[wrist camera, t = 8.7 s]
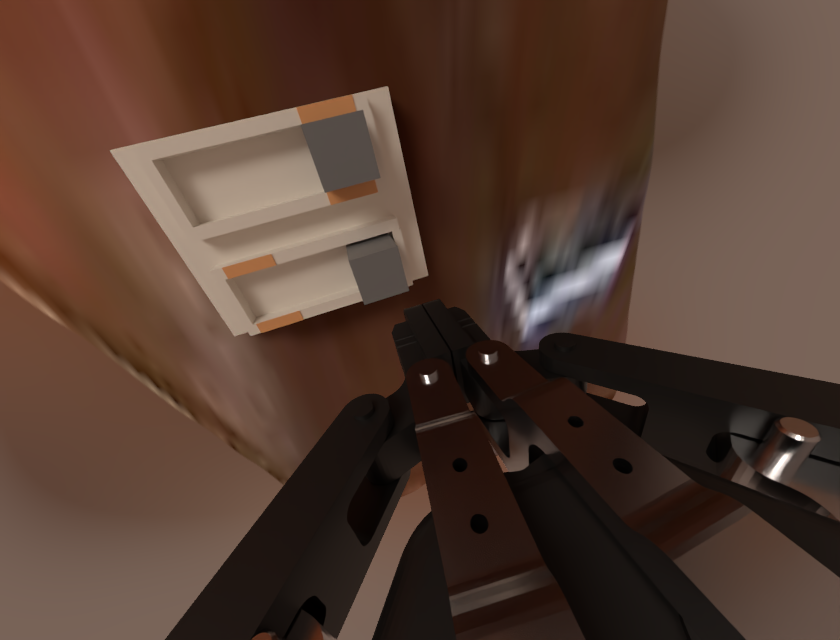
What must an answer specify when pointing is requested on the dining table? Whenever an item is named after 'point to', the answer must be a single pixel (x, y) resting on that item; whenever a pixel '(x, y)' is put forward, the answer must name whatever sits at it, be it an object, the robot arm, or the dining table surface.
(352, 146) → the tab
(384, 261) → the tab
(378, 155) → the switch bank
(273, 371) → the dining table surface
